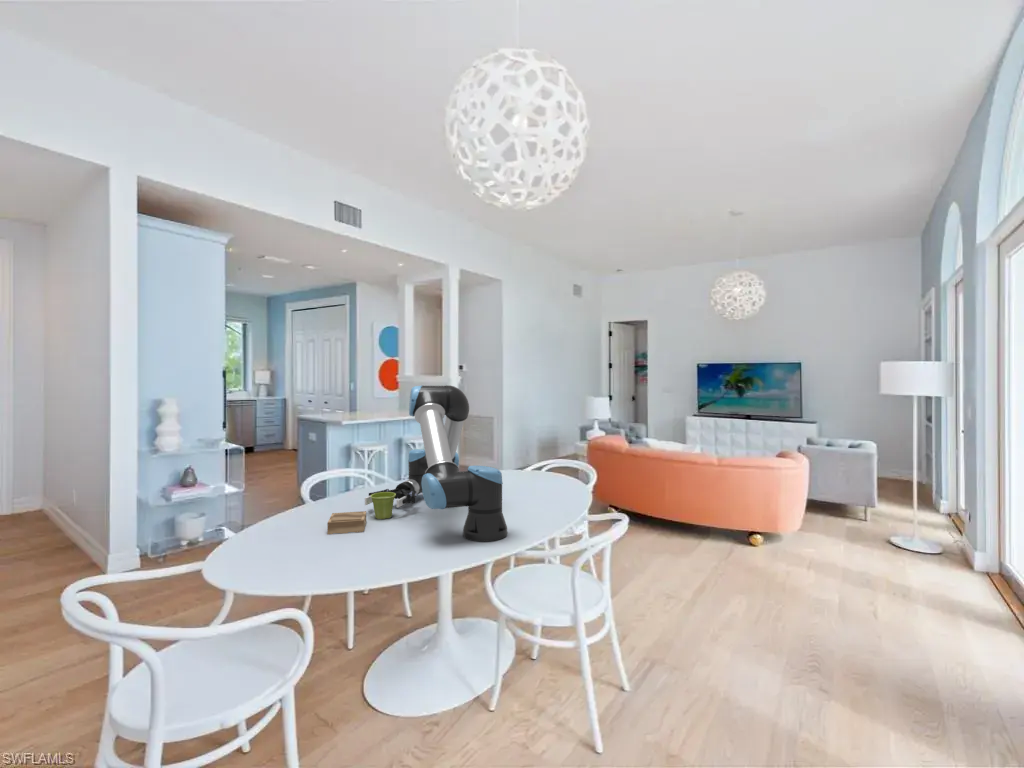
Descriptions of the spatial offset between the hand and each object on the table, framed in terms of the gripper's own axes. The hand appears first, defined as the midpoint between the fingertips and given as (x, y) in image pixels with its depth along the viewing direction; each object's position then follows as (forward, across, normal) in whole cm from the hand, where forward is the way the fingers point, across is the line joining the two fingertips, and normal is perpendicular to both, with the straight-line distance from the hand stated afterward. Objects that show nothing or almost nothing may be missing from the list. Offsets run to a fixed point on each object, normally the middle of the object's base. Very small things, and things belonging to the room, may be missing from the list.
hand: (381, 502), depth 192 cm
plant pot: (-1, 0, -6) cm, 6 cm away
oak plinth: (+14, +5, -6) cm, 16 cm away
